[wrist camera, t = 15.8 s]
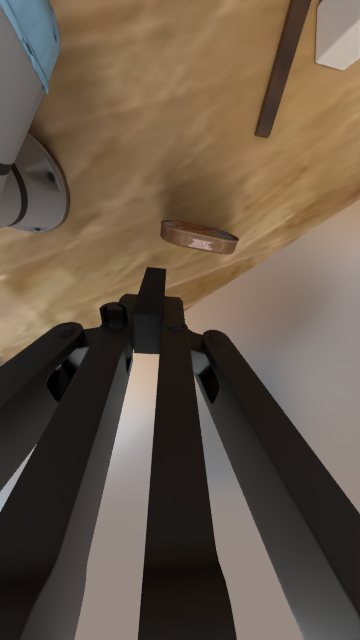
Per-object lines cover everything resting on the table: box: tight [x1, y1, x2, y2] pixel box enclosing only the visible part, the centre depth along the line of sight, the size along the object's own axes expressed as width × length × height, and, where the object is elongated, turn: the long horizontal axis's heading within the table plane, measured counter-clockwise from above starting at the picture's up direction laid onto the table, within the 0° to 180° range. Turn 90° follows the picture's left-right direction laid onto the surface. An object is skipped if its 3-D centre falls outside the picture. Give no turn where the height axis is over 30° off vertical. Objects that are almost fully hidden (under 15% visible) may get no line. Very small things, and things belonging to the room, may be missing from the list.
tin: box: [161, 220, 239, 254], centre depth 33 cm, size 15×3×8 cm, turn 79°
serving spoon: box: [255, 0, 311, 138], centre depth 22 cm, size 20×6×1 cm, turn 172°
